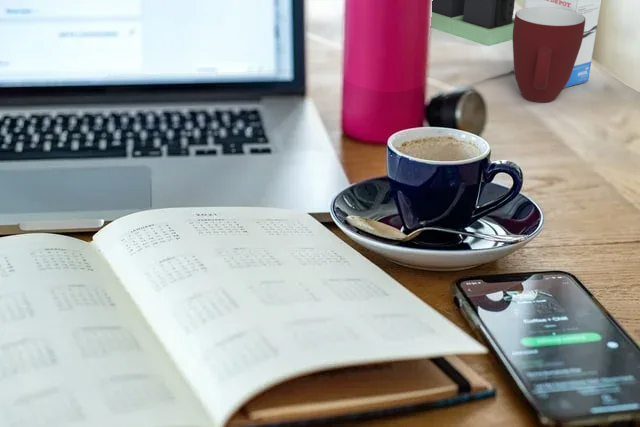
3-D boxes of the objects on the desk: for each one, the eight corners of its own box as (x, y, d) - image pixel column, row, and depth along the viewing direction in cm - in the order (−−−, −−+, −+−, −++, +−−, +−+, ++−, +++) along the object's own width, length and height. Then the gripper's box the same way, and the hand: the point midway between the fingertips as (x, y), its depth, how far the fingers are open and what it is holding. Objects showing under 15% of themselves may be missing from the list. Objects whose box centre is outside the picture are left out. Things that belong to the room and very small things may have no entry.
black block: (447, 15, 136) (450, -14, 134) (472, 23, 133) (475, -7, 131) (425, 21, 134) (427, -9, 131) (449, 29, 130) (452, -2, 128)
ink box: (590, 82, 112) (605, -11, 107) (563, 89, 110) (578, -6, 104) (540, 63, 119) (552, -25, 113) (514, 70, 116) (525, -20, 111)
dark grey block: (485, 14, 131) (488, -16, 129) (512, 22, 127) (515, -9, 125) (462, 20, 128) (465, -11, 126) (489, 28, 124) (492, -4, 122)
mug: (579, 119, 101) (593, 34, 97) (507, 114, 102) (518, 30, 97) (568, 87, 110) (581, 8, 106) (503, 83, 111) (513, 5, 107)
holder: (410, 24, 134) (411, 7, 133) (447, 15, 139) (448, -1, 137) (488, 49, 124) (490, 31, 122) (525, 39, 128) (527, 21, 127)
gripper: (571, -108, 115) (551, 28, 124) (472, -123, 127) (461, 3, 135) (535, -103, 111) (517, 38, 120) (436, -119, 122) (426, 11, 131)
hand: (487, 18), depth 127 cm, fingers closed on dark grey block, 4 cm apart
